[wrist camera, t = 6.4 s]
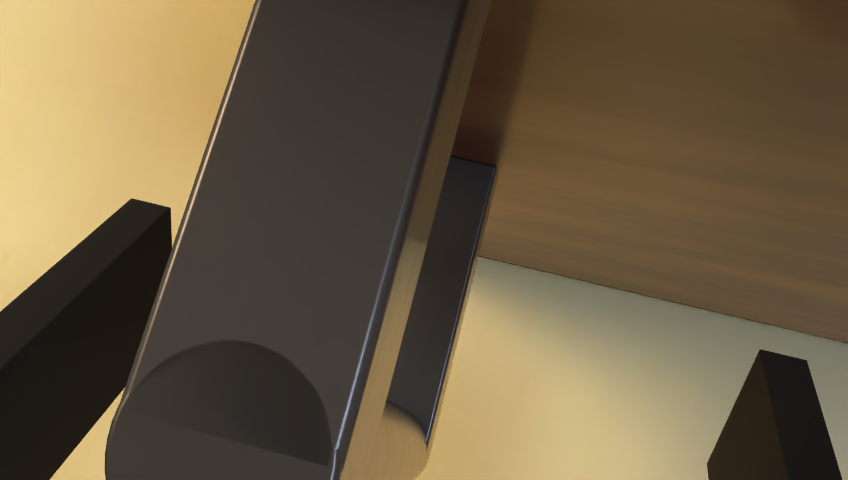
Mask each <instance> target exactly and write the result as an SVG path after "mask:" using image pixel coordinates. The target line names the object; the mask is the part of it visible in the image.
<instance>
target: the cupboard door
mask: <svg viewBox="0 0 848 480" xmlns="http://www.w3.org/2000/svg"><path fill="white" fill-rule="evenodd" d="M478 256H483V257H487V258H491V259H495V260H500V261H504V262H508V263H512V264H517V265H521V266H525V267H529V268H534V269H538V270H542V271H546V272H551V273H555V274H559V275H563V276H568V277H572V278H576V279H580V280H585V281H589V282H593V283H597V284H602V285H606V286H610V287H614V288H618V289H623V290H627V291H631V292H635V293H640V294H644V295H648V296H652V297H657V298H661V299H665V300H669V301H674V302H678V303H682V304H686V305H691V306H695V307H699V308H703V309H708V310H712V311H716V312H720V313H725V314H729V315H733V316H737V317H741V318H746V319H750V320H754V321H758V322H763V323H767V324H771V325H775V326H780V327H784V328H788V329H792V330H797V331H801V332H805V333H809V334H814V335H818V336H822V337H826V338H831V339H835V340H839V341H843V342H848V0H256V1H255V4H254V7H253V10H252V12H251V15H250V18H249V21H248V24H247V27H246V30H245V33H244V36H243V39H242V42H241V45H240V48H239V51H238V54H237V57H236V60H235V63H234V66H233V69H232V72H231V75H230V78H229V81H228V84H227V87H226V90H225V93H224V96H223V99H222V102H221V105H220V108H219V111H218V114H217V116H216V119H215V122H214V125H213V128H212V131H211V134H210V137H209V140H208V143H207V146H206V149H205V152H204V155H203V158H202V161H201V164H200V167H199V170H198V173H197V176H196V179H195V182H194V185H193V188H192V191H191V194H190V197H189V200H188V203H187V206H186V209H185V212H184V215H183V218H182V220H181V223H180V226H179V229H178V232H177V235H176V238H175V241H174V244H173V247H172V250H171V253H170V256H169V259H168V262H167V265H166V268H165V271H164V274H163V277H162V280H161V283H160V286H159V289H158V292H157V295H156V298H155V301H154V304H153V307H152V310H151V313H150V316H149V319H148V321H147V324H146V327H145V330H144V333H143V336H142V339H141V342H140V345H139V348H138V351H137V354H136V357H135V360H134V363H133V366H132V369H131V372H130V375H129V378H128V381H127V384H126V387H125V390H124V393H123V396H122V399H121V402H120V404H119V406H118V408H117V410H116V413H115V415H114V418H113V420H112V423H111V427H110V430H109V434H108V438H107V444H106V451H105V476H106V480H414V479H415V478H416V477H417V476H418V475H419V474H420V473H421V472H422V471H423V469H424V468H425V466H426V464H427V462H428V459H429V456H430V452H431V448H432V443H433V439H434V435H435V431H436V427H437V423H438V419H439V415H440V411H441V407H442V403H443V399H444V395H445V391H446V387H447V382H448V378H449V374H450V370H451V366H452V362H453V358H454V354H455V350H456V346H457V342H458V338H459V334H460V330H461V326H462V322H463V317H464V313H465V309H466V305H467V301H468V297H469V293H470V289H471V285H472V281H473V277H474V273H475V269H476V265H477V261H478Z"/></svg>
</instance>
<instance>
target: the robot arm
mask: <svg viewBox="0 0 848 480" xmlns="http://www.w3.org/2000/svg"><path fill="white" fill-rule="evenodd" d="M171 250H172V236H171V208H169V207H165V206H161V205H157V204H153V203H149V202H144V201H140V200H136V199H130V200H129V201H128V202H127V203H126V204H125V205H123V206H122V207H121V208H120V209H119V210H118V211H116V212H115V213H114V214H113V215H112V216H111V217H109V218H108V219H107V220H106V221H105V222H104V223H103V224H101V225H100V226H99V227H98V228H97V229H96V230H94V231H93V232H92V233H91V234H90V235H89V236H87V237H86V238H85V239H84V240H83V241H82V242H81V243H79V244H78V245H77V246H76V247H75V248H74V249H72V250H71V251H70V252H69V253H68V254H67V255H65V256H64V257H63V258H62V259H61V260H60V261H59V262H57V263H56V264H55V265H54V266H53V267H52V268H50V269H49V270H48V271H47V272H46V273H45V274H43V275H42V276H41V277H40V278H39V279H38V280H36V281H35V282H34V283H33V284H32V285H31V286H30V287H28V288H27V289H26V290H25V291H24V292H23V293H21V294H20V295H19V296H18V297H17V298H16V299H14V300H13V301H12V302H11V303H10V304H9V305H8V306H6V307H5V308H4V309H3V310H2V311H1V312H0V480H50V478H51V477H52V476H53V475H54V473H55V472H56V471H57V470H58V469H59V467H60V466H61V465H62V464H63V462H64V461H65V460H66V459H67V457H68V456H69V455H70V454H71V453H72V451H73V450H74V449H75V448H76V446H77V445H78V444H79V443H80V442H81V440H82V439H83V438H84V437H85V435H86V434H87V433H88V432H89V431H90V429H91V428H92V427H93V426H94V424H95V423H96V422H97V421H98V420H99V418H100V417H101V416H102V415H103V413H104V412H105V411H106V410H107V408H108V407H109V406H110V405H111V404H112V402H113V401H114V400H115V399H116V397H117V396H118V395H119V394H120V393H121V391H122V390H123V389H124V388H125V386H126V384H127V381H128V378H129V375H130V372H131V369H132V366H133V363H134V360H135V357H136V354H137V351H138V348H139V345H140V342H141V339H142V336H143V333H144V330H145V327H146V324H147V321H148V319H149V316H150V313H151V310H152V307H153V304H154V301H155V298H156V295H157V292H158V289H159V286H160V283H161V280H162V277H163V274H164V271H165V268H166V265H167V262H168V259H169V256H170V253H171ZM707 467H708V476H709V480H842V477H841V474H840V471H839V467H838V464H837V460H836V457H835V454H834V450H833V447H832V444H831V440H830V437H829V434H828V430H827V427H826V423H825V420H824V417H823V413H822V410H821V407H820V403H819V400H818V397H817V393H816V390H815V387H814V383H813V380H812V376H811V373H810V370H809V366H808V363H807V360H803V359H799V358H794V357H790V356H786V355H782V354H778V353H774V352H769V351H765V350H761V349H760V350H759V352H758V355H757V357H756V359H755V361H754V363H753V365H752V368H751V370H750V372H749V374H748V376H747V378H746V381H745V383H744V385H743V387H742V389H741V391H740V394H739V396H738V398H737V400H736V402H735V404H734V406H733V409H732V411H731V413H730V415H729V417H728V419H727V422H726V424H725V426H724V428H723V430H722V432H721V435H720V437H719V439H718V441H717V443H716V445H715V448H714V450H713V452H712V454H711V456H710V458H709V461H708V463H707Z"/></svg>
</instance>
